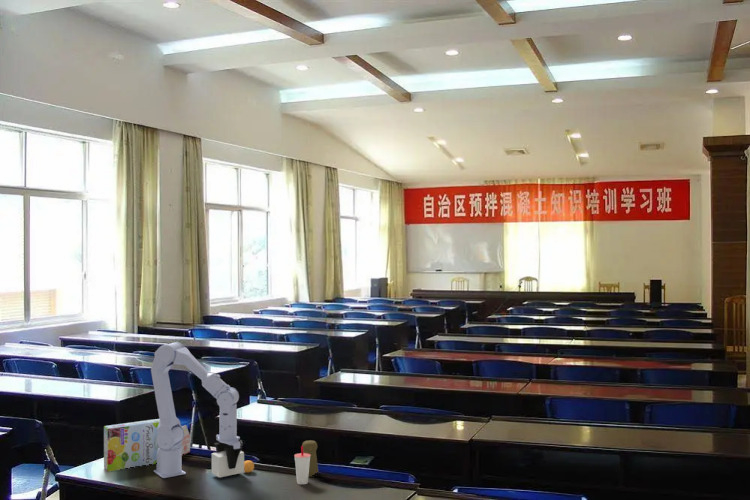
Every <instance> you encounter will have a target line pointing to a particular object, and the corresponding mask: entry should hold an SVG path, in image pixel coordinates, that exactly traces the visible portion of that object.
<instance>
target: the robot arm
mask: <svg viewBox="0 0 750 500" xmlns="http://www.w3.org/2000/svg"><path fill="white" fill-rule="evenodd" d="M174 365H176V366H177V365H181V366H184V367H186V368H187V369H188V370H189V371H190V372H192V373H193V374H194V375H195V376H197V378H198V379H200V380H201V386H202V387H203V388H204V389H205V390H206V391H207V392H208V393H209V394H210V395H211V396H212V397H213V398H215V399H216V403H217V406H219V413H218V414H219V420H218V421H219V424H218V425H219V428H218V429H219V430H218V431H219V432H218V433H219V434H216V435H215V439H216V441H217V442H214V443H213V445H214V448H215V449H216V452H221V451H225V452H226V455H227V460H228V467H229V469H233V468H235V467H236V463H237V459H238V456H239V454H240V452H241V451H242V449H243V447H242V446H241V441H239V440H240V439H241V437H240V436H238V435H237V433H238V432H237V430H238V428H237V427H238V426H237V425H238V420H237V419H238V415H237V414H238V411H237V408H238V407H237V405H238V404H237V403H238V402H239V399H240V394H239V391H238V390H237V388H235V387H231V385H229V384H227V383H226V382H225V381H223V379H222V378H221V375H220V374H218V373H217V374H216V373H215V372H209V371H208V370H207V369H206V368H205V367H204V366H203V365H202V364H201V362H199V361H198V360H197V359H196V357H195V356H194V355H193V354H192V353H191V352H190V350H189V349H188V347H185V346H184V344H183V343H181V342H179V341H173V342H171V343H168V344H162V345H161V346H159V347H158V348H157V349H156V350H155V352H154V359H153V361H152V365H151V367H150V373H151V379H152V384H153V390H154V397H155V402H156V407H157V412H158V417H159V418H158V419H160V422H159V425H158V427H157V431H158V434H157V438H156V441H157V444H158V446H159V447H160V448H159V449H158V451H157V464H156V469H154V470H153V473H155V474H156V475H158V476H159V477H161V478H162V479H166V478H167V479H168V478H172V477H173V478H174V477H177V476H182V475H186V474H187V472H186V471H184V470H182V460H183V459H182V456H183V455H182V444H181V441H182V440H183V438H184V436H185V432H184V429H183V428H182V426H183V425H182V424H181V421H180V419H179V418H178V417H177V415H176V409H175V404H174V399H173V398H174V397H173V392H172V387H171V383H170V382H171V381H170V376H169V371H170V370H171V368H172V367H173V366H174Z"/></svg>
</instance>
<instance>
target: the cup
mask: <svg viewBox="0 0 750 500" xmlns="http://www.w3.org/2000/svg"><path fill="white" fill-rule="evenodd" d="M300 449H301V450H300V451H301V452H300V453H295V454H294V455H293V456H294V464H295V474H296V475H295V476H296V483H297V484H298V485H307V484H308V482H309V476H308V475H309V465H310V456H311V455H310V454H308V453H304V451H303V446H302V445H301V446H300Z"/></svg>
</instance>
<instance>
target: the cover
mask: <svg viewBox="0 0 750 500" xmlns="http://www.w3.org/2000/svg"><path fill="white" fill-rule="evenodd" d="M244 462H245V452H244V451H242V450H241V452H240V454H239V456H238V459H237V463H236V467H235V468H233V469H229V467H228V460H227V455H226V452H225V451H221V452H217V451H216V452H213V453H211V474H212V475H214V476H216V477H217V478H220V479H221V478H223V477H228V476H229V477H230V476H232V475H237V474H242V473H245V471H244Z"/></svg>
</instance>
